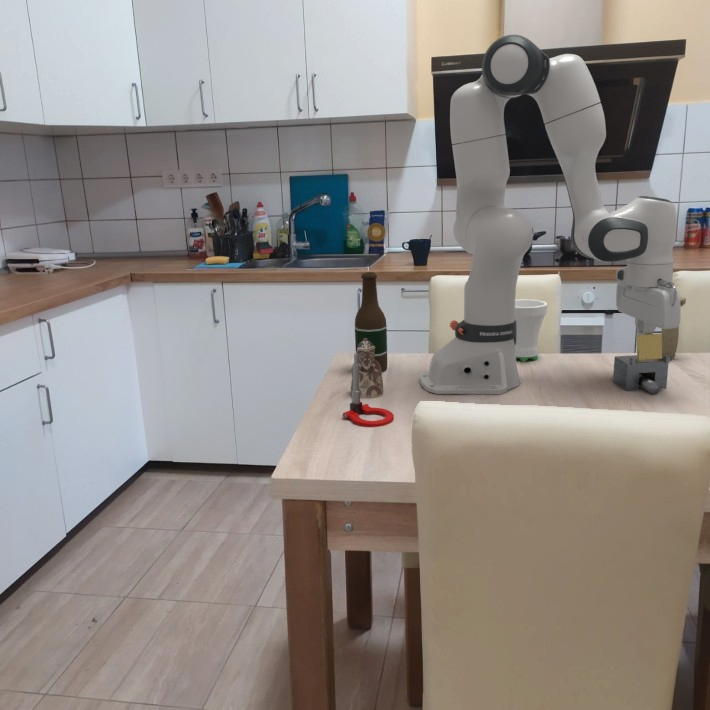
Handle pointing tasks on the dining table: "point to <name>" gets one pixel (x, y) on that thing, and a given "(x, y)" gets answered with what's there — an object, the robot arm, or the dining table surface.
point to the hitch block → (629, 372)
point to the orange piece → (648, 384)
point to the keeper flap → (649, 348)
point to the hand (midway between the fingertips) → (644, 340)
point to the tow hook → (358, 408)
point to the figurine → (368, 371)
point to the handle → (671, 337)
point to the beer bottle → (371, 320)
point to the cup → (528, 327)
